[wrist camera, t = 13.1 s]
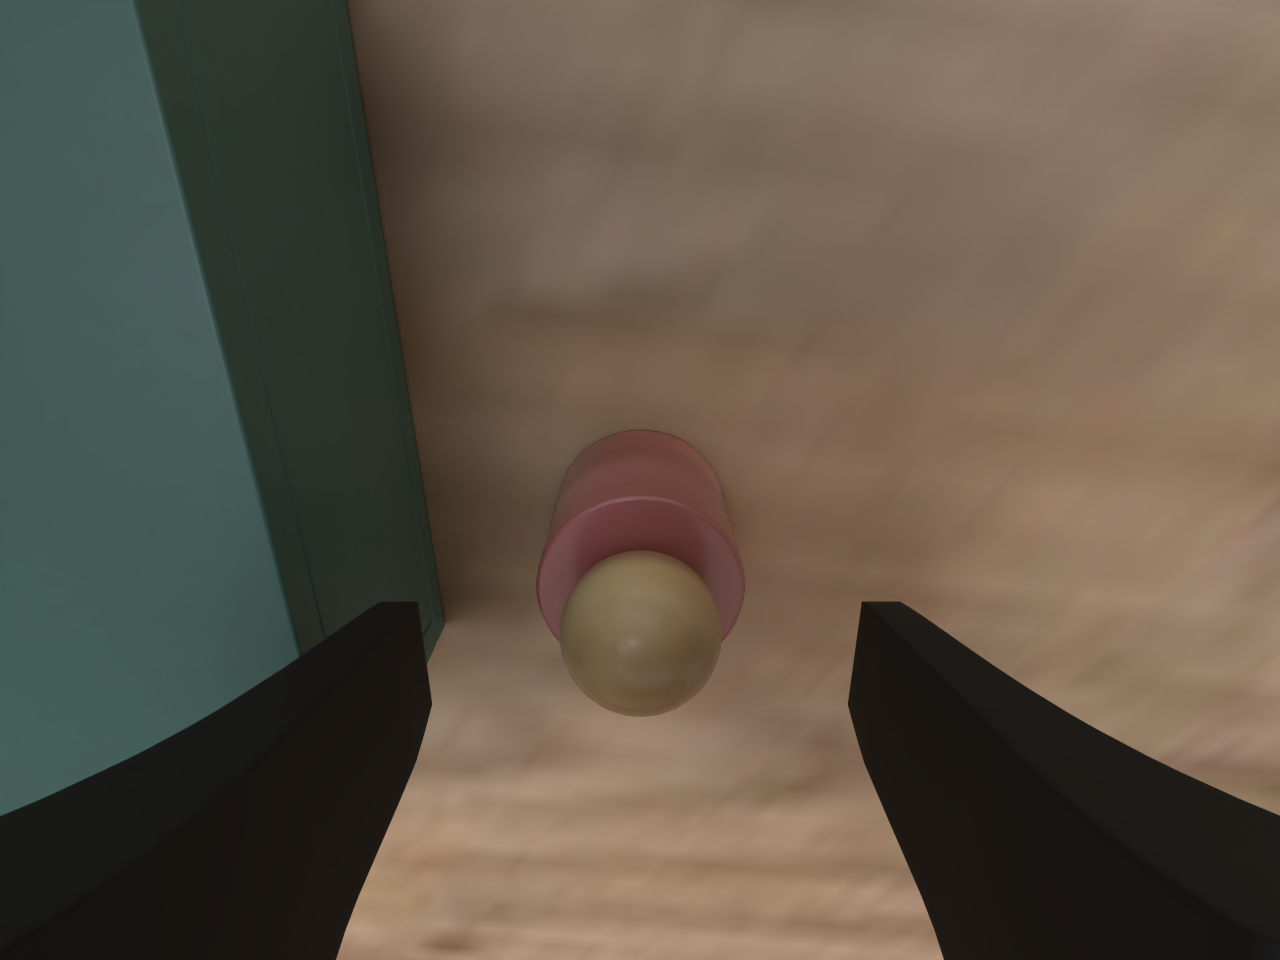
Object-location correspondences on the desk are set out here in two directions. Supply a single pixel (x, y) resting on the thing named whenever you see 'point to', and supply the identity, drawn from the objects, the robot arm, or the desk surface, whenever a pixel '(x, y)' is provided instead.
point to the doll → (640, 572)
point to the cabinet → (188, 371)
